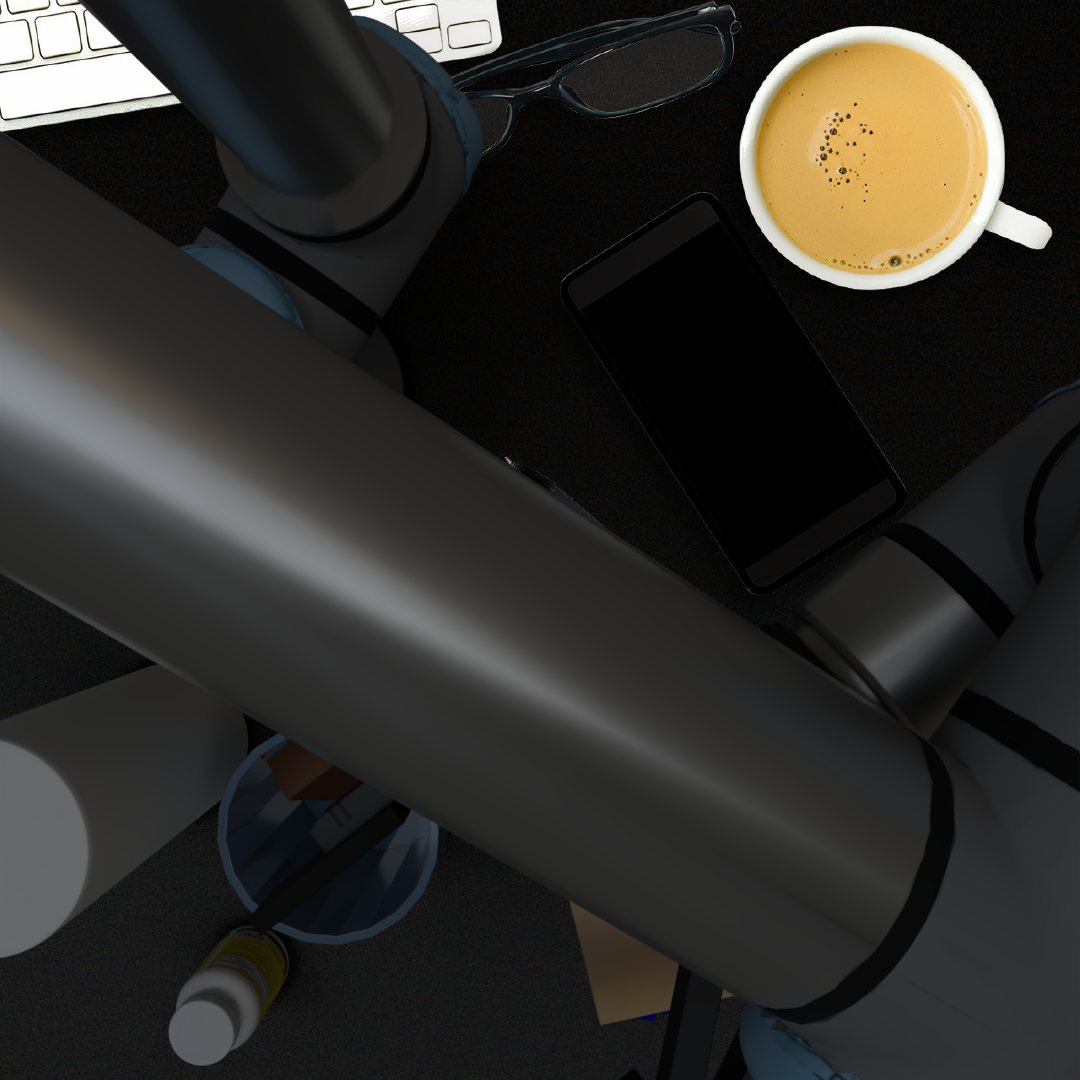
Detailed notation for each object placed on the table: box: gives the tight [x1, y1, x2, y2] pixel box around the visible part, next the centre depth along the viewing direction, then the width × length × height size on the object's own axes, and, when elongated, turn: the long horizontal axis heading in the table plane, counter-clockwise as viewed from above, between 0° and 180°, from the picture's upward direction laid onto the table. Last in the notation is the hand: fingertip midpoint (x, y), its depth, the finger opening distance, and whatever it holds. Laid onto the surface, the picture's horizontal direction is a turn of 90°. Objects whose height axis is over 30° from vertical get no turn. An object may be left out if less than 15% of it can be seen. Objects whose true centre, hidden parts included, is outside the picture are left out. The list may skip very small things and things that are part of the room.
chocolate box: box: [267, 741, 361, 801], centre depth 71 cm, size 5×3×11 cm, turn 128°
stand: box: [568, 900, 735, 1026], centre depth 64 cm, size 8×8×25 cm
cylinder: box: [0, 664, 249, 959], centre depth 66 cm, size 12×12×25 cm
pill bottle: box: [168, 924, 290, 1067], centre depth 73 cm, size 6×6×11 cm
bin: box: [216, 732, 450, 946], centre depth 69 cm, size 14×14×16 cm
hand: (383, 1059), depth 35 cm, fingers open, 13 cm apart
